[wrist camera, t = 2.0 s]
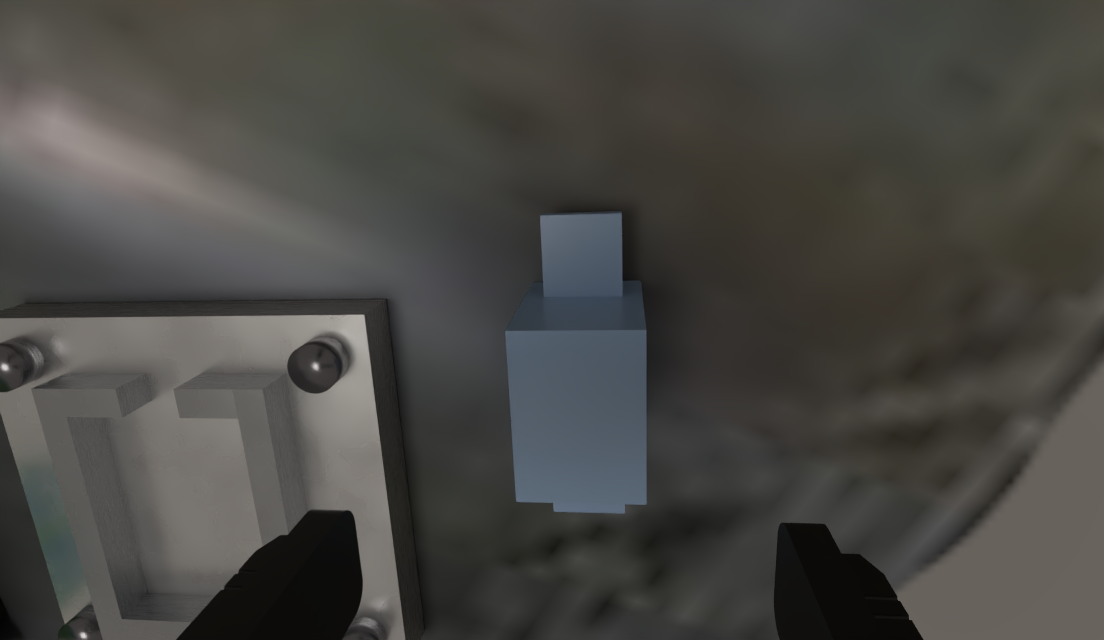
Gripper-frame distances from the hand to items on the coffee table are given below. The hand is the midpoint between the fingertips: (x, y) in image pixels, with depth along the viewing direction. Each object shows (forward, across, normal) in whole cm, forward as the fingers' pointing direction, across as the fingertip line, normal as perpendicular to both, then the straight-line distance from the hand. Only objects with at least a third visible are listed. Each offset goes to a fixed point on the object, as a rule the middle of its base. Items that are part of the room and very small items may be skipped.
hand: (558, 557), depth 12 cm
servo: (+11, 0, 0) cm, 11 cm away
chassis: (+11, +14, +4) cm, 18 cm away
